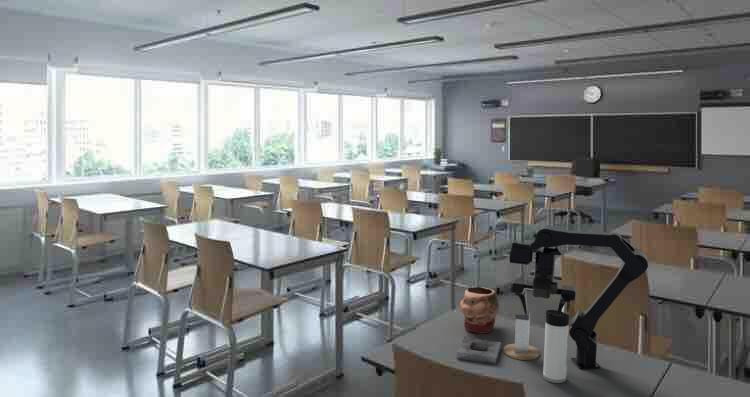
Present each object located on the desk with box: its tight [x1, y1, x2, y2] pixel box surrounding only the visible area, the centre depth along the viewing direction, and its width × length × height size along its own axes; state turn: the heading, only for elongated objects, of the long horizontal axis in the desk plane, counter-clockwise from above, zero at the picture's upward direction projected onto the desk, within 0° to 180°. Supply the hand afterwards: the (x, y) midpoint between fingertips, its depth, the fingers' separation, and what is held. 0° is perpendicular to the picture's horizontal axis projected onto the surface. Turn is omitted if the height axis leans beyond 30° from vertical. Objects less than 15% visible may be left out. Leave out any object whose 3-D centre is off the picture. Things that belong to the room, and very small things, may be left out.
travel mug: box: [542, 309, 570, 384], centre depth 153 cm, size 6×7×20 cm
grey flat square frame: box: [456, 337, 502, 365], centre depth 171 cm, size 12×12×2 cm
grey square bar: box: [514, 309, 531, 354], centre depth 170 cm, size 4×4×12 cm
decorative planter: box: [459, 286, 500, 334], centre depth 191 cm, size 20×12×14 cm, turn 142°
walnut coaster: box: [503, 343, 541, 361], centre depth 171 cm, size 11×11×1 cm
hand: (541, 316), depth 166 cm, fingers open, 9 cm apart
